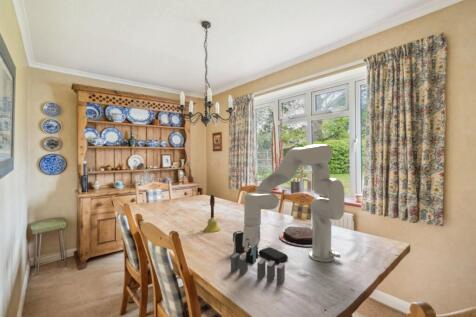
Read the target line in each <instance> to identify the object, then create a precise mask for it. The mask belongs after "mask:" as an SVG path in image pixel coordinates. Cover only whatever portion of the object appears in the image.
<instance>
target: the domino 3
mask: <svg viewBox="0 0 476 317" xmlns="http://www.w3.org/2000/svg"><path fill="white" fill-rule="evenodd" d="M249 250H250V252H251V249H249ZM252 255H253V264H250V263H248V267H249V266H250V267H253V266H254V265H255V264H256V262H257V259H256V246H255V247H254V248H253V253H252Z"/></svg>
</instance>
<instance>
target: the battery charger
mask: <svg viewBox="0 0 476 317" xmlns="http://www.w3.org/2000/svg"><path fill="white" fill-rule="evenodd" d="M243 231H244V230H238V231H234V232H233V234H232V242H233V247H234V248H233V254H235V253H239V254H241V253H244V252H245V251H244V248H245V247H243ZM245 253H246V252H245Z"/></svg>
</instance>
